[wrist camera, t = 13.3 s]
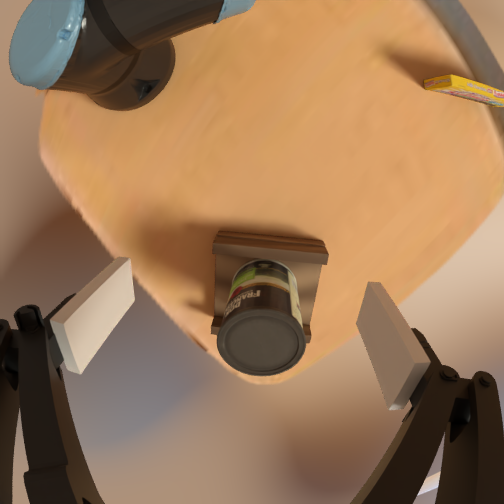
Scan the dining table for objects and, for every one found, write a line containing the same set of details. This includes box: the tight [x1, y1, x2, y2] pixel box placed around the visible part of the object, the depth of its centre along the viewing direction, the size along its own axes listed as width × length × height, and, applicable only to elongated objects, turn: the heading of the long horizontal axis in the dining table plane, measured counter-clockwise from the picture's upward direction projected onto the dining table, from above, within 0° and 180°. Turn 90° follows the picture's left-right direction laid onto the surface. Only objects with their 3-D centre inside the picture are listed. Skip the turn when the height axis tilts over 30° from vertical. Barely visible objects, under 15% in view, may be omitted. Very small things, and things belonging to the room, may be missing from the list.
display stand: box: [211, 231, 329, 343], centre depth 45 cm, size 16×16×5 cm
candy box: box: [424, 74, 504, 107], centre depth 29 cm, size 16×2×8 cm, turn 94°
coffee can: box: [217, 259, 306, 376], centre depth 39 cm, size 10×10×14 cm
